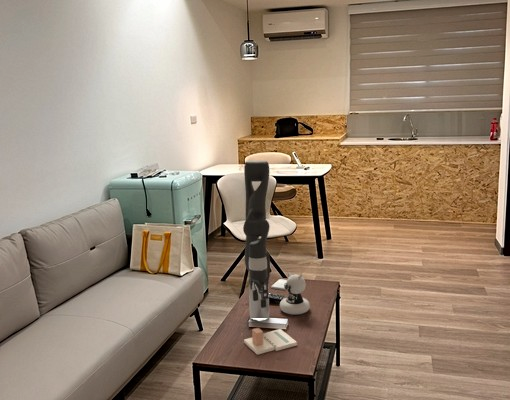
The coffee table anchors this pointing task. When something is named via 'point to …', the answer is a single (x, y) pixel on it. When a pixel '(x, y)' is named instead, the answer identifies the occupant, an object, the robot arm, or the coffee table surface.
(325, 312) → the coffee table surface
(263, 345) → the block on cream base
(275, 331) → the board
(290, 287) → the decorative figurine
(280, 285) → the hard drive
